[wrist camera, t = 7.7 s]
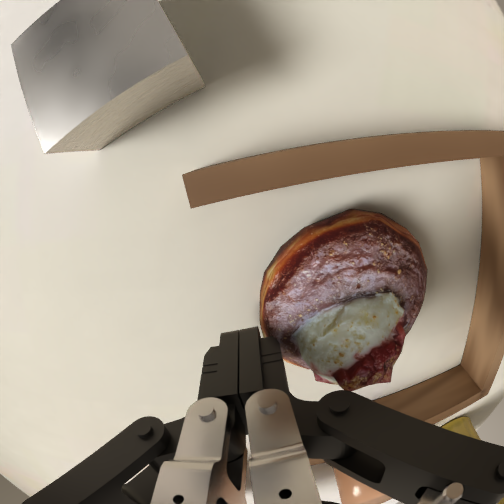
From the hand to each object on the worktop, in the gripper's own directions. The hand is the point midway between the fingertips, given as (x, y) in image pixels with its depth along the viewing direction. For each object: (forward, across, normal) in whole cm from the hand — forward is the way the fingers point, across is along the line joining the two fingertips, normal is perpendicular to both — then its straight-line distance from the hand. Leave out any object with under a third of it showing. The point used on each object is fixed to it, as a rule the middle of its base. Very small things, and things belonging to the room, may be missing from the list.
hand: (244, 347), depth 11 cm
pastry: (+2, -5, -1) cm, 5 cm away
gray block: (+2, +2, -12) cm, 12 cm away
